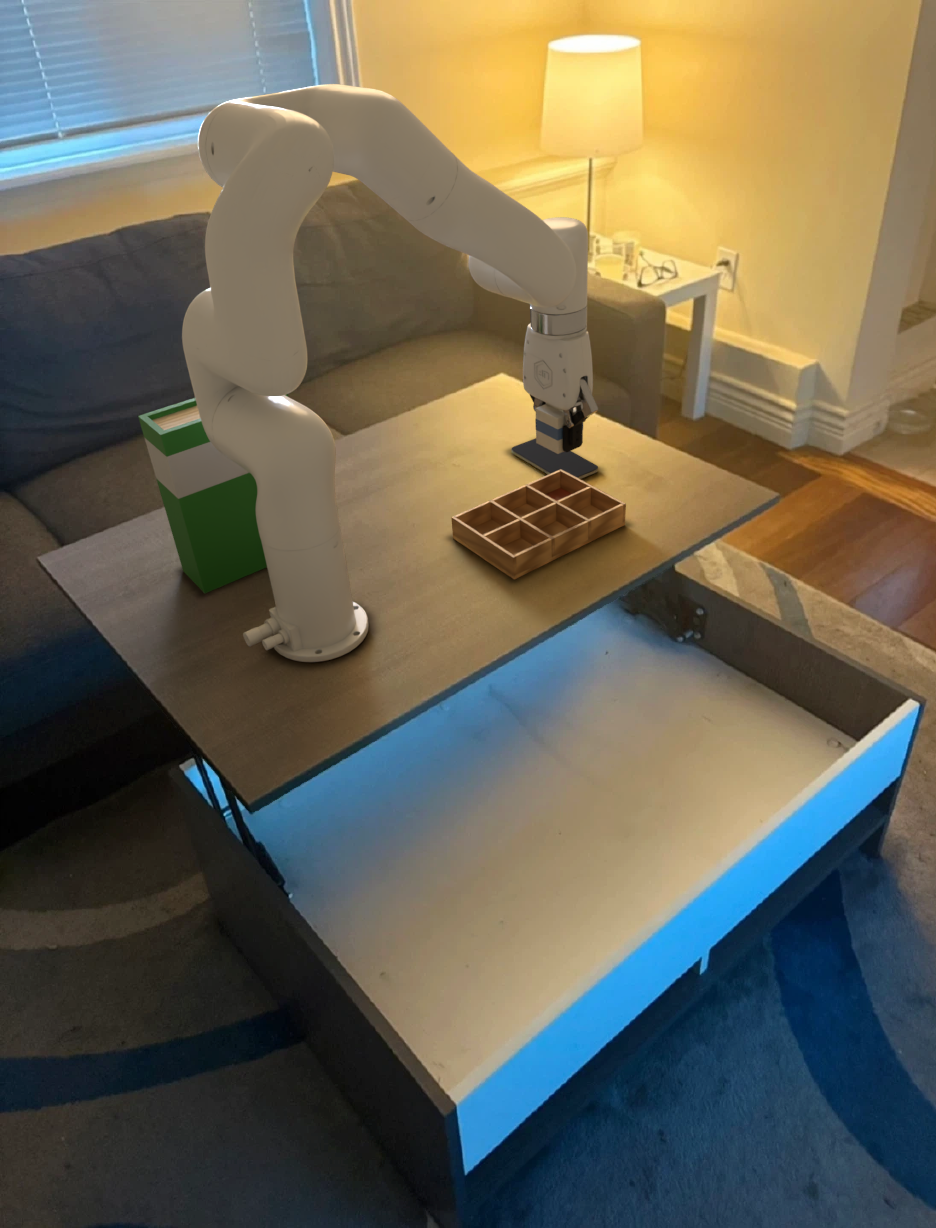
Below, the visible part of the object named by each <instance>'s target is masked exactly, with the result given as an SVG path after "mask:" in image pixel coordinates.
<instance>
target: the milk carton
mask: <svg viewBox="0 0 936 1228" xmlns="http://www.w3.org/2000/svg"><path fill="white" fill-rule="evenodd" d="M575 413H576V408H575V407H574V408H572V415H574V414H575ZM565 425H566V422H565V417H564V412H563V410H562V409H559V408H557V407H555V406H553V405H550V404H548V403H546V404H545V405H542V406H540V407H537V408H536V412H535V438H536V443H538V444H540V445H541V446H543V447H545V448H547V449H549V450H551V451H553V452H555V453H557V454H559V453H561V452H564V451H563V426H565ZM583 442H584V422H583V423H582V444H583Z"/></svg>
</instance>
